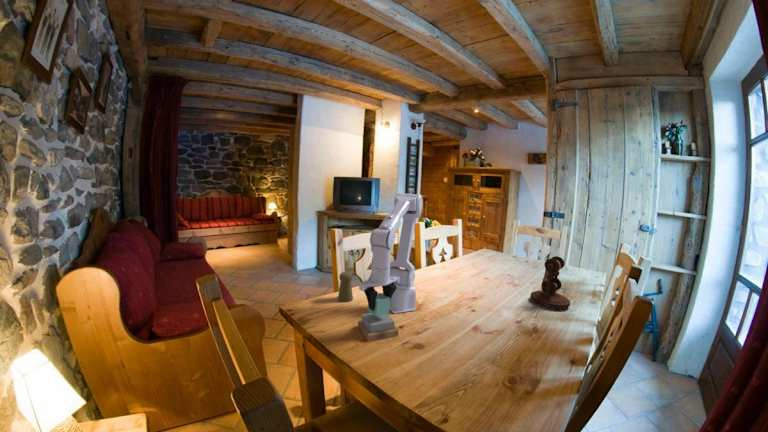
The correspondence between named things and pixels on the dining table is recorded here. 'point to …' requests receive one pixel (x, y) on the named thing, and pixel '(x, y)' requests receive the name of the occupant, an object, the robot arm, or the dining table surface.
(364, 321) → the grey block
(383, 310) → the teal cube
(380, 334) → the walnut block
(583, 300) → the dining table surface
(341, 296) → the olive upright rounded piece
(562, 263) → the dark brown carved statue
